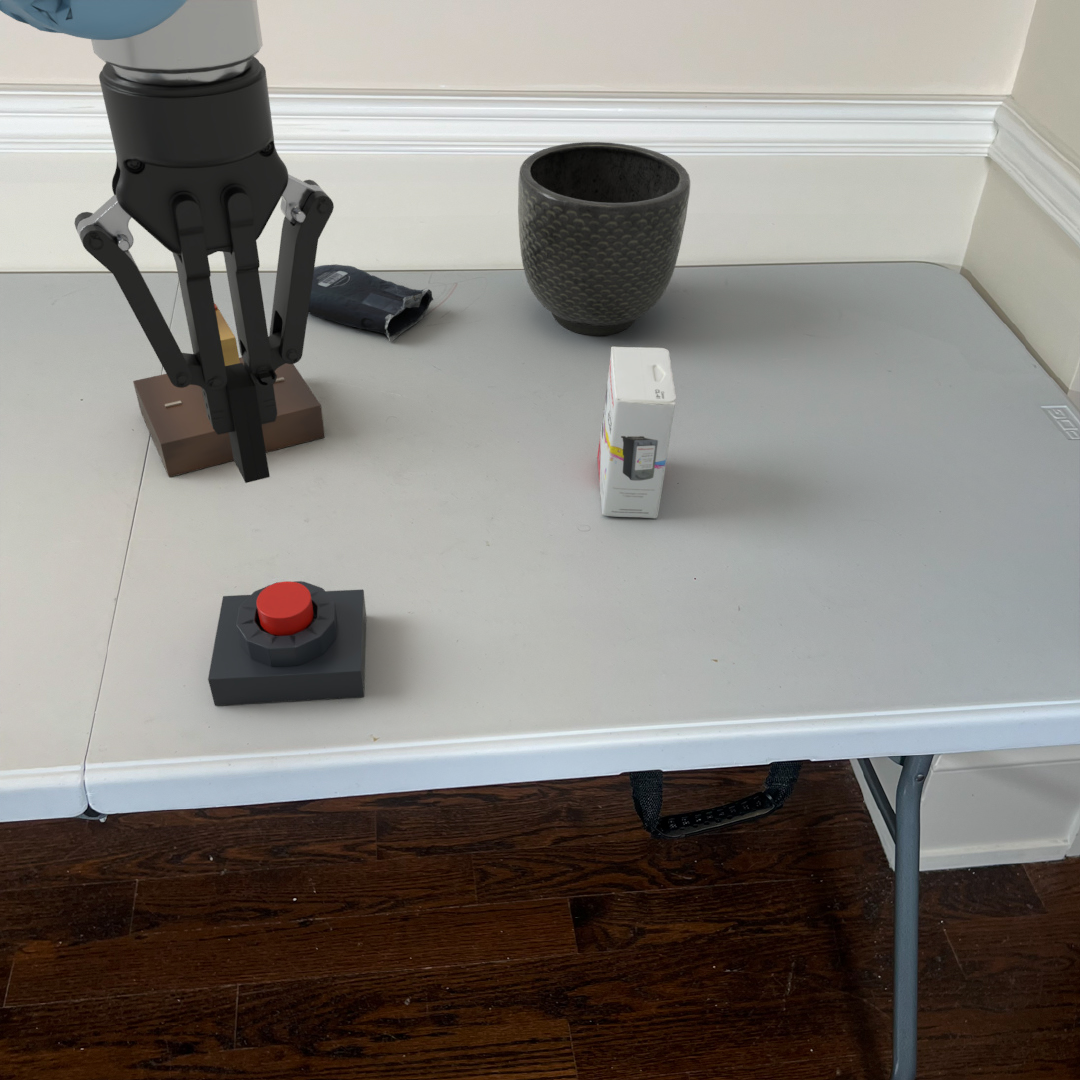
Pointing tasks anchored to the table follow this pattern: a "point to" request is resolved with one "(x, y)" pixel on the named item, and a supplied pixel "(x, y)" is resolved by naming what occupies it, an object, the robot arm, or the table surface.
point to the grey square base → (290, 652)
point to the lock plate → (191, 435)
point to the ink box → (635, 431)
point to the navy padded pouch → (365, 300)
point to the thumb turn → (227, 340)
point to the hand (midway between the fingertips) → (251, 467)
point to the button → (285, 608)
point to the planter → (600, 231)
